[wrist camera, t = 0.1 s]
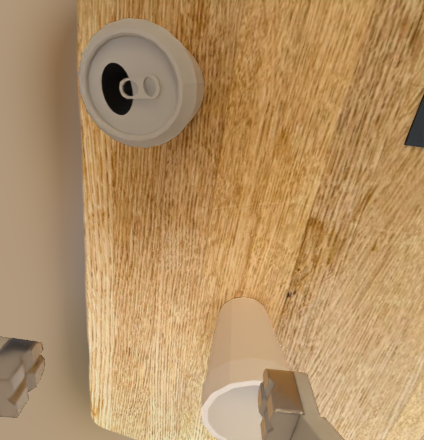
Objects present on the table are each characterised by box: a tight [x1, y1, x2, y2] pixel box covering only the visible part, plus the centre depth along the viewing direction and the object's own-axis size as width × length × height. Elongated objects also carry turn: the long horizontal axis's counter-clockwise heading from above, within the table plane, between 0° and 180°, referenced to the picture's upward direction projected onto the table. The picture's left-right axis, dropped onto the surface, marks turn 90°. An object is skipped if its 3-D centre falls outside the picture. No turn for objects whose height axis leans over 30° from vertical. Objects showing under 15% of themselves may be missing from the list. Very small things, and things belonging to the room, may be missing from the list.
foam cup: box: [201, 297, 290, 440], centre depth 33 cm, size 10×9×13 cm
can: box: [78, 18, 204, 148], centre depth 23 cm, size 8×8×12 cm
